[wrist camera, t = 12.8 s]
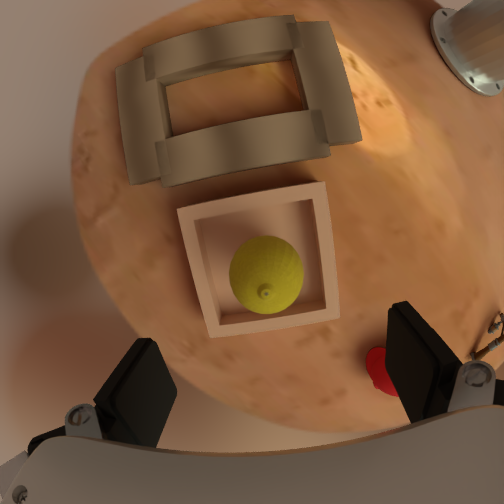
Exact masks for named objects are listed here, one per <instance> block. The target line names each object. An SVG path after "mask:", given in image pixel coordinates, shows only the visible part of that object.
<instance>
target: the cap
mask: <svg viewBox="0 0 504 504" xmlns="http://www.w3.org/2000/svg"><path fill="white" fill-rule="evenodd" d="M385 354H386V349H385V348H382V347H375V348H373V349H371V350H370V351H369V352H368V354H367V357H366V367H367V371H368V373H369V376H370V377H371V379H372V380H373V384H374V387H375V388H376V389H380V390H381V391H383V392H384V393H386V394H389V395H392V396H396V397H399V396H398V394H397V392H396V389H395V387H394V385H393V383H392V381H391V379H390V377H389V375H388V373H387V371H386V368H385Z"/></svg>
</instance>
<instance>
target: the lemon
mask: <svg viewBox="0 0 504 504" xmlns="http://www.w3.org/2000/svg"><path fill="white" fill-rule="evenodd" d="M303 278H304V271H303V264H302V261H301V259H300V256H299V254H298V253H297V251H296V250H295V249H294V248H293V246H292V245H290V244H289V243H288V242H286V241H285V240H283V239H281V238H278V237H276V236H269V235H264V236H257V237H255V238H252V239H249V240H248V241H246V242H245V243H243V244H242V245H241V246H240V247H239V249H238V250H237V251H236V252H235V254H234V256H233V258H232V260H231V263H230V269H229V281H230V286H231V288H232V291H233V294H234V295H235V297H236V298H237V300H238V301H239V302H240V303H241V304H242V305H243V306H244V307H245V308H247V309H249V310H251V311H253V312H256V313H260V314H273V313H277V312H280V311H282V310H284V309H286V308H287V307H288V306H290V305H291V304H292V303H293V302H294V301H295V299H296V298H297V297H298V295H299V293H300V290H301V288H302V285H303Z"/></svg>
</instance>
